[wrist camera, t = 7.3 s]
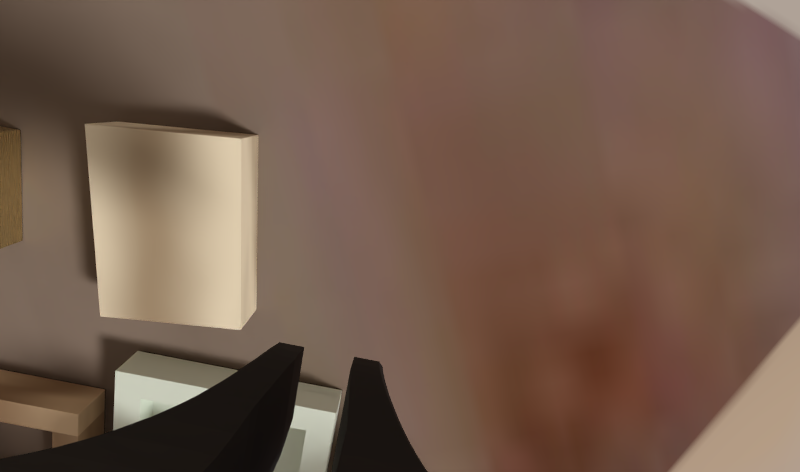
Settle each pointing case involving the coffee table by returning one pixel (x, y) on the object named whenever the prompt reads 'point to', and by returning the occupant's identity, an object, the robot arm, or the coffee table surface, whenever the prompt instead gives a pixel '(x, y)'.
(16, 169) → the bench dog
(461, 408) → the coffee table surface
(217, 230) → the beige rectangular box
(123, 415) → the tray
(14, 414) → the socket block
